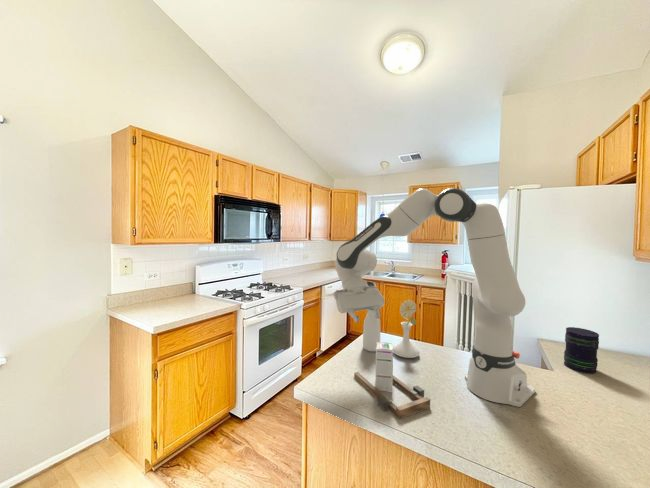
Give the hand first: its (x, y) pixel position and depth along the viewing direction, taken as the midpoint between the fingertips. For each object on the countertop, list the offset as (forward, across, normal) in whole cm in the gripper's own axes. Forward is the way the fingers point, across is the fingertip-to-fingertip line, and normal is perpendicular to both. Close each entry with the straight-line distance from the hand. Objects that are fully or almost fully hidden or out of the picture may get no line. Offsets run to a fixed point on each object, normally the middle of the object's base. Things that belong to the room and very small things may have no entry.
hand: (368, 319), depth 102 cm
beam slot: (+23, 0, +6) cm, 24 cm away
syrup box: (+22, 0, +7) cm, 23 cm away
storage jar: (+37, +81, -8) cm, 90 cm away
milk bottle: (+3, +14, +26) cm, 30 cm away
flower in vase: (+11, +24, +18) cm, 32 cm away
